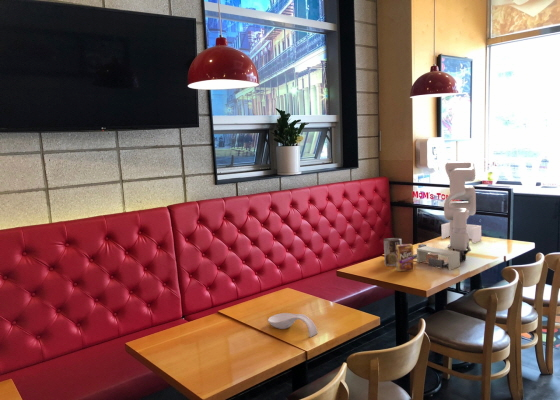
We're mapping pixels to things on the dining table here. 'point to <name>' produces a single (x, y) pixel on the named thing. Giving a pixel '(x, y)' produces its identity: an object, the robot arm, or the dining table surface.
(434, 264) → the crook tool
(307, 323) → the spoon rest
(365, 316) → the dining table surface
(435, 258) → the block
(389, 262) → the coffee box
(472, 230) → the storage container
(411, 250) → the candy box
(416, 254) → the straight bar tool
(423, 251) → the cubby
